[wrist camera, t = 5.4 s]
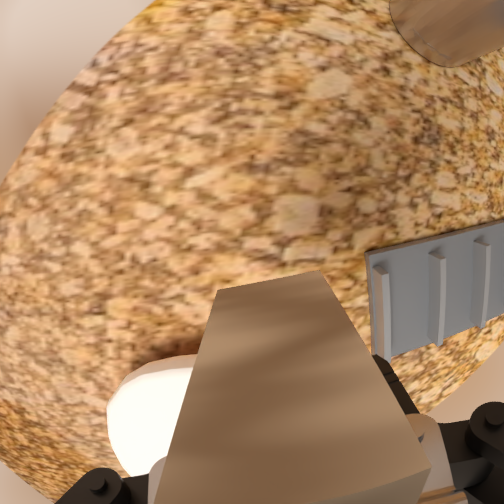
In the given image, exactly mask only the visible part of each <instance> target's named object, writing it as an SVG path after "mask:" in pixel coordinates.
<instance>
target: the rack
mask: <svg viewBox="0 0 504 504" xmlns="http://www.w3.org/2000/svg"><path fill="white" fill-rule="evenodd" d="M365 261H366V271H367V282H368V294H369V308H370V325H371V351H372V355H375V354H377V355H378V356H380V357H382V358H383V359H385V360H387V361H388V363H391V357H392V356H395V355H399V354H402V353H405V352H408V351H411V350H414V349H417V348H420V347H422V346H425V345H428V344H431V343H434V344H435V345H436V346H440V345H442V344H443V339H444V338H447V337H449V336H452V335H455V334H457V333H460V332H462V331H464V330H467V329H469V328H472V327H474V326H478V327H479V328H480V329H481V328H483V327H485V322H486V321H488V320H490V319H492V318H494V317H496V316H499V315H501V314H503V313H504V219H502V220H498V221H494V222H490V223H486V224H482V225H479V226H474V227H470V228H466V229H462V230H458V231H454V232H450V233H446V234H442V235H438V236H433V237H429V238H425V239H421V240H416V241H412V242H408V243H404V244H399V245H395V246H391V247H386V248H382V249H377V250H373V251H368V252H365Z"/></svg>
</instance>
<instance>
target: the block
mask: <svg viewBox="0 0 504 504" xmlns="http://www.w3.org/2000/svg"><path fill="white" fill-rule="evenodd" d="M431 468H432V465H431V464H430V462H429V460H428V458H427V456H426V454H425V452H424V450H423V448H422V446H421V444H420V442H419V440H418V438H417V436H416V434H415V433H414V431H413V429H412V427H411V425H410V423H409V421H408V419H407V418H406V416H405V414H404V412H403V410H402V408H401V407H400V405H399V403H398V401H397V399H396V398H395V396H394V394H393V392H392V390H391V389H390V387H389V385H388V383H387V382H386V380H385V378H384V376H383V375H382V373H381V371H380V369H379V368H378V366H377V364H376V362H375V361H374V359H373V357H372V355H371V354H370V352H369V350H368V349H367V347H366V345H365V344H364V342H363V340H362V339H361V337H360V335H359V334H358V332H357V330H356V329H355V327H354V325H353V324H352V322H351V320H350V319H349V317H348V315H347V314H346V312H345V310H344V309H343V307H342V306H341V304H340V302H339V301H338V299H337V297H336V296H335V294H334V293H333V291H332V289H331V288H330V286H329V285H328V283H327V281H326V280H325V278H324V277H323V275H322V274H321V272H320V270H317V271H312V272H308V273H303V274H298V275H293V276H288V277H283V278H278V279H273V280H268V281H263V282H258V283H252V284H247V285H242V286H237V287H231V288H226V289H220V290H218V291H217V294H216V297H215V300H214V303H213V306H212V309H211V312H210V316H209V319H208V322H207V325H206V328H205V331H204V335H203V338H202V341H201V344H200V347H199V351H198V354H197V357H196V360H195V363H194V367H193V370H192V373H191V376H190V380H189V383H188V386H187V390H186V393H185V396H184V400H183V403H182V406H181V410H180V413H179V416H178V420H177V423H176V426H175V430H174V433H173V437H172V440H171V443H170V447H169V450H168V454H167V457H166V461H165V464H164V468H163V471H162V475H161V478H160V482H159V485H158V489H157V493H156V496H155V500H154V503H153V504H416V503H417V501H418V499H419V497H420V495H421V493H422V490H423V488H424V486H425V483H426V481H427V478H428V476H429V474H430V471H431Z"/></svg>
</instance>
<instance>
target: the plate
mask: <svg viewBox="0 0 504 504" xmlns="http://www.w3.org/2000/svg"><path fill="white" fill-rule="evenodd" d="M196 357H197V354H192V355H181V356H175V357H171V358H166V359H162V360H157V361H153V362H149V363H147V364H145V365H143V366H142V367H140V368H138V369H136V370H135V371H133V372H131V373H130V374H128V375H126V377H125V378H124V380H123V381H122V382H121V384H120V385H119V387H118V388H117V389H116V391H115V392H114V394H113V395H112V397H111V398H110V399H109V401H108V404H107V423H108V435H109V439H110V442H111V445H112V448H113V450H114V452H115V454H116V456H117V458H118V460H119V462H120V463H121V465H122V467H123V468H124V469H125V470H126V471H127V472H128V474H129V475H130V476H131V477H134V476H139V475H144V474H148V473H149V472H150V470H151V468H152V466H153V465H154V464H155V463H156V462H157V461H158V460H160V459H161V458H163V457H165V456H167V454H168V450H169V447H170V443H171V440H172V437H173V433H174V430H175V426H176V423H177V420H178V416H179V413H180V410H181V406H182V403H183V400H184V396H185V393H186V390H187V386H188V383H189V380H190V376H191V373H192V370H193V367H194V363H195V360H196Z"/></svg>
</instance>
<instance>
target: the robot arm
mask: <svg viewBox="0 0 504 504" xmlns="http://www.w3.org/2000/svg"><path fill="white" fill-rule="evenodd" d="M389 7H390V14H391V17H392V20H393V22H394V24H395V26H396V28H397V30H398V31H399V33H400V34H401V35H402V37H403V38H404V39H405V40H406V42H407V43H408V44H409V45H410V46H411V47H412V48H413V49H414V50H416V51H417V52H418V53H419V54H420V55H422V56H423V57H425V58H426V59H428V60H429V61H431V62H433V63H436V64H438V65H441V66H445V67H457V66H460V65H462V64H465V63H467V62H469V61H471V60H474V59H476V58H478V57H481V56H483V55H486V54H488V53H490V52H493V51H495V50H498V49H500V48H502V47H504V0H390V3H389ZM372 357H373V359H374V361H375V362H376V364H377V366H378V368H379V369H380V371H381V373H382V375H383V376H384V378H385V380H386V382H387V383H388V385H389V387H390V389H391V390H392V392H393V394H394V396H395V398H396V399H397V401H398V403H399V405H400V407H401V408H402V410H403V412H404V414H405V416H406V418H407V419H408V421H409V423H410V425H411V427H412V429H413V431H414V433H415V434H416V436H417V438H418V440H419V442H420V444H421V446H422V448H423V450H424V452H425V454H426V456H427V458H428V460H429V462H430V464H431V465H432V468H431V471H430V474H429V476H428V478H427V481H426V483H425V486H424V488H423V490H422V493H421V495H420V497H419V499H418V501H417V503H416V504H504V403H502V402H488V403H485V404H483V405H481V406H479V407H478V408H477V409H476V410H475V411H474V412H473V414H472V416H471V418H470V420H465V421H459V422H453V423H437V422H436V421H435V420H434V419H433V418H431V417H429V416H427V415H423V414H420V413H419V411H418V410H417V408H416V406H415V405H414V403H413V401H412V400H411V398H410V396H409V395H408V393H407V392H406V390H405V388H404V387H403V385H402V383H401V382H399V379H398V377H397V375H396V374H395V373H394V371H393V369H392V367H391V366H390V364H389V363H388V361H387V360H385V359H383V358H382V357H380V356H378V355H377V354H375V355H372ZM166 457H167V456H165V457H163V458H161V459H160V460H158V461H157V462H156V463H155V464H154V465H153V466H152V468H151V470H150V472H149V473H148V474H144V475H139V476H134V477H128V478H121V477H120V476H119V474H118V473H117V472H115V471H114V470H112V469H109V468H96V469H93V470H91V471H89V472H87V473H86V474H85V475H84V476H83V477H82V478H81V479H79V480H78V481H77V482H76V483H75V484H74V485H73V486H72V487H71V488H70V489H69V490H68V491H67V492H66V493H65V494H64V495H63V496H62V497H61V498H60V499H59V500H58V501H57V502H56V503H55V504H153V503H154V500H155V496H156V493H157V489H158V485H159V482H160V478H161V475H162V471H163V468H164V464H165V461H166Z"/></svg>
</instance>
